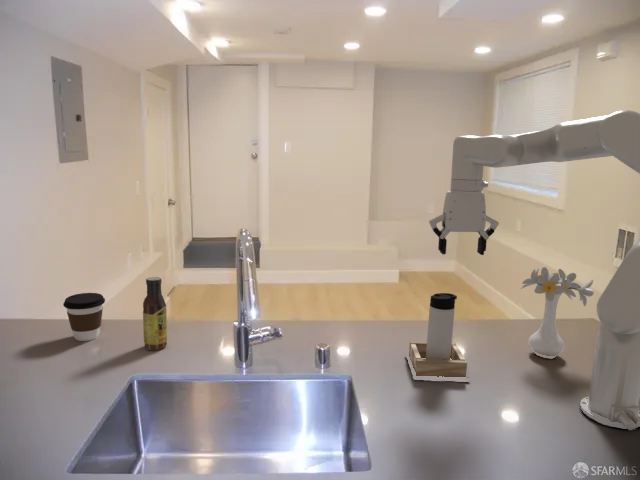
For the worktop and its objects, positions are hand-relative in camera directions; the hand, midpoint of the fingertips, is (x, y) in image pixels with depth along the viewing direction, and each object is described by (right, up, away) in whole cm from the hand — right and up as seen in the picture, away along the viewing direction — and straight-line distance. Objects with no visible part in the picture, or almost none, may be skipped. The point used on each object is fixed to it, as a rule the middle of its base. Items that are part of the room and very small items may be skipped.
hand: (461, 253), depth 129 cm
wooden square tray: (-6, -31, +4) cm, 31 cm away
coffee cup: (-104, -25, +19) cm, 109 cm away
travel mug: (-5, -30, +4) cm, 31 cm away
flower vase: (+29, -30, +16) cm, 44 cm away
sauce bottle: (-82, -27, +13) cm, 88 cm away
